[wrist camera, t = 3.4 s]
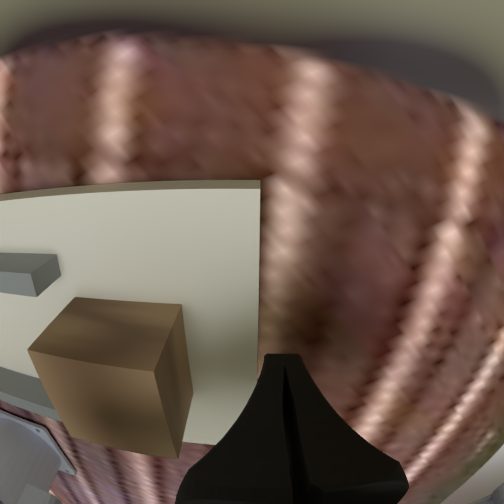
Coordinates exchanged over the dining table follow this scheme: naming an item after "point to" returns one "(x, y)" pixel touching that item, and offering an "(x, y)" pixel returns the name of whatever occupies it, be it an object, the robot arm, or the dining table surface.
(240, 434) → the robot arm
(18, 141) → the dining table surface
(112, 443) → the walnut block
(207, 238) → the board
